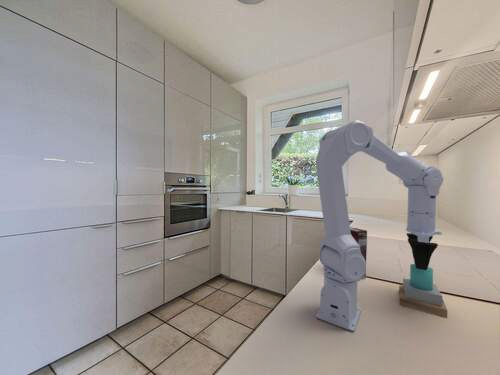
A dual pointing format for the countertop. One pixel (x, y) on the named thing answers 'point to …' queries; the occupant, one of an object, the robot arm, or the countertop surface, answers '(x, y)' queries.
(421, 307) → the tower base
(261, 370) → the countertop surface
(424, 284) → the cylinder
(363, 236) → the supplement box
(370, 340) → the countertop surface
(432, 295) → the tower top
